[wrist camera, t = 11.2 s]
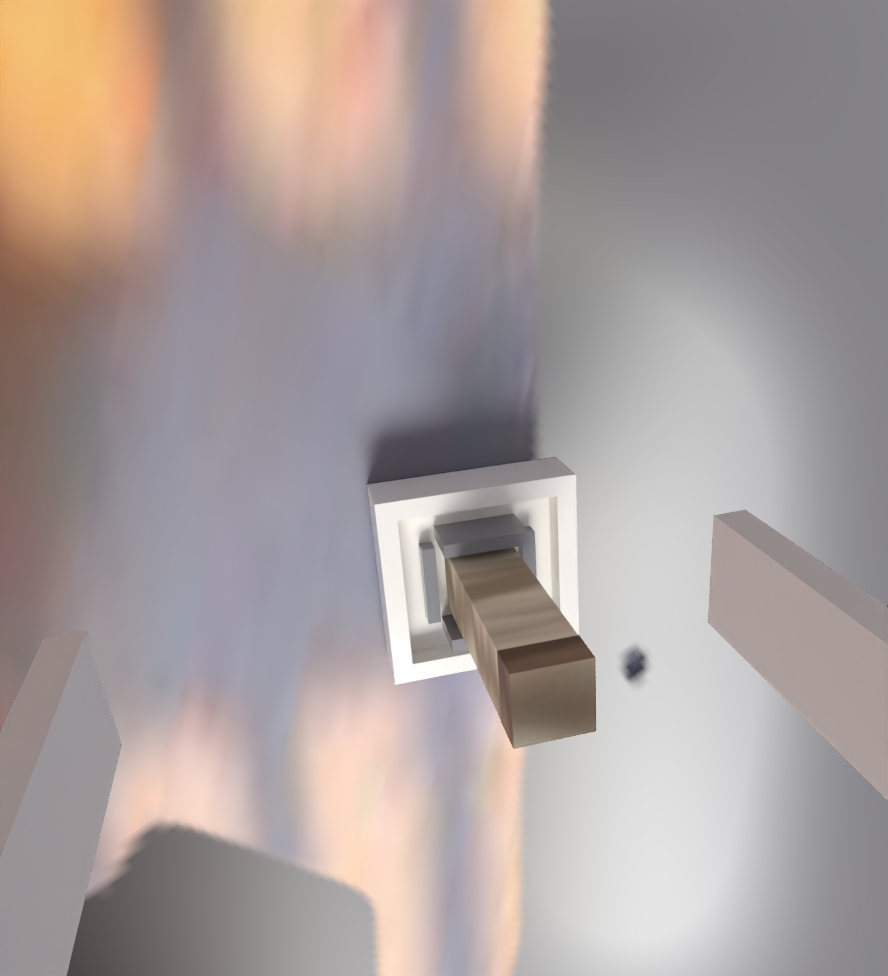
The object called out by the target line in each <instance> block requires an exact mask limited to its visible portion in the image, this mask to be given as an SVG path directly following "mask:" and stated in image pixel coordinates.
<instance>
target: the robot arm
mask: <svg viewBox="0 0 888 976" xmlns="http://www.w3.org/2000/svg"><path fill="white" fill-rule="evenodd" d="M708 623H709V624H710V625H711V626H712V627H713V628H714V629H715V630H716V631H717V632H718V633H719V634H720V635H721V636H722V637H723V638H724V639H725V640H726V641H727V642H728V643H729V644H730V645H731V646H732V647H733V648H734V649H735V650H736V651H737V652H738V653H739V654H740V655H741V656H742V657H744V659H745V660H746V661H747V662H749V664H751V666H752V667H754V668H755V669H756V670H757V671H758V672H759V673H760V674H761V675H762V676H763V677H764V678H765V679H766V680H767V681H768V682H769V683H770V684H771V685H772V686H773V687H774V688H775V689H776V690H777V691H778V692H779V693H780V694H781V695H782V696H783V697H784V698H785V699H786V700H787V701H788V702H789V703H790V704H791V705H792V706H793V707H794V708H795V709H796V710H797V711H798V712H799V713H800V714H801V715H802V716H803V717H804V718H805V719H806V720H807V721H808V722H809V723H810V724H811V725H812V726H813V727H814V728H815V729H816V730H817V731H818V732H819V733H820V734H821V735H822V736H823V737H824V738H825V739H826V740H827V741H828V742H829V743H830V744H831V745H832V746H833V747H834V748H835V749H836V750H837V751H838V752H839V753H841V755H842V756H843V757H844V758H845V759H846V760H847V761H849V763H850V764H852V765H853V766H854V767H855V768H856V769H857V770H858V771H859V772H860V773H861V774H862V775H863V776H864V777H865V778H866V779H867V780H868V781H869V782H870V783H871V784H872V785H873V786H874V787H875V788H876V789H877V790H878V791H879V792H880V793H881V794H882V795H883V796H884V797H885V798H886V799H887V800H888V606H885V605H884V604H883V603H881V602H880V601H878V600H877V599H875V598H874V597H872V596H871V595H869V594H868V593H867V592H865V591H863V590H862V589H861V588H859V587H857V586H856V585H855V584H853V583H852V582H850V581H849V580H847V579H846V578H845V577H843V576H842V575H840V574H839V573H837V572H836V571H834V570H833V569H831V568H829V567H828V566H827V565H825V564H824V563H823V562H821V561H820V560H818V559H817V558H815V557H814V556H812V555H811V554H809V553H808V552H806V551H805V550H804V549H802V548H801V547H799V546H798V545H796V544H795V543H793V542H792V541H790V540H789V539H787V538H786V537H785V536H783V535H782V534H780V533H779V532H777V531H776V530H774V529H773V528H771V527H770V526H768V525H767V524H766V523H764V522H762V521H761V520H760V519H758V518H757V517H755V516H754V515H752V514H751V513H749V512H748V511H746V510H742V511H736V512H730V513H725V514H720V515H714V520H713V539H712V558H711V576H710V594H709V613H708ZM121 745H122V744H121V741H120V738H119V734H118V731H117V728H116V725H115V722H114V718H113V715H112V712H111V709H110V706H109V702H108V699H107V696H106V693H105V689H104V686H103V683H102V680H101V677H100V673H99V670H98V667H97V664H96V661H95V657H94V654H93V651H92V648H91V644H90V641H89V638H88V635H87V632H86V631H81V632H75V633H70V634H64V635H59V636H54V637H48V638H44V639H43V641H42V643H41V645H40V647H39V650H38V652H37V654H36V656H35V658H34V660H33V663H32V665H31V667H30V669H29V671H28V673H27V676H26V678H25V680H24V682H23V684H22V686H21V689H20V691H19V693H18V695H17V697H16V699H15V701H14V704H13V706H12V708H11V710H10V712H9V714H8V717H7V719H6V721H5V723H4V725H3V727H2V730H1V732H0V976H66V975H67V970H68V966H69V962H70V958H71V954H72V949H73V945H74V941H75V936H76V932H77V928H78V925H79V920H80V916H81V912H82V908H83V904H84V899H85V895H86V891H87V887H88V883H89V879H90V874H91V870H92V866H93V862H94V858H95V854H96V849H97V845H98V841H99V837H100V833H101V828H102V824H103V820H104V816H105V812H106V808H107V803H108V799H109V795H110V791H111V787H112V783H113V778H114V774H115V770H116V766H117V762H118V757H119V753H120V749H121Z"/></svg>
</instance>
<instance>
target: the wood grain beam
mask: <svg viewBox="0 0 888 976" xmlns="http://www.w3.org/2000/svg"><path fill="white" fill-rule="evenodd" d="M444 561H445V573H446V584H447V596H448V606H449V608H450V610H451V612H452V614H453V617H454V619H455V621H456V623H457V625H458V628H459V630H460V632H461V634H462V636H463V638H464V641H465V643H466V645H467V647H468V649H469V652H470V654H471V656H472V658H473V660H474V662H475V665H476V667H477V669H478V671H479V673H480V675H481V678H482V680H483V682H484V684H485V686H486V689H487V691H488V693H489V695H490V697H491V699H492V702H493V704H494V706H495V708H496V710H497V712H498V715H499V717H500V719H501V722H502V725H503V727H504V729H505V731H506V733H507V736H508V738H509V740H510V742H511V744H512V746H513V749H514V748H519V747H524V746H528V745H533V744H538V743H542V742H547V741H552V740H556V739H562V738H566V737H571V736H575V735H580V734H585V733H589V732H594V731H596V680H595V679H596V677H595V657H594V655H593V654H592V652H591V651H590V650H589V648H588V647H587V646H586V644H585V643H584V641H583V640H582V639H581V637H580V636H579V635H578V634H577V633H576V631H575V630H574V629H573V627H572V626H571V625H570V623H569V622H568V621H567V619H566V618H565V616H564V615H563V614H562V612H561V611H560V610H559V608H558V607H557V605H556V604H555V603H554V601H553V600H552V599H551V597H550V596H549V595H548V593H547V592H546V590H545V589H544V588H543V586H542V585H541V584H540V582H539V581H538V579H537V578H536V577H535V575H534V574H533V573H532V571H531V570H530V569H529V567H528V566H527V564H526V563H525V562H524V560H523V559H522V558H521V556H520V555H519V553H518V552H517V551H516V549H515V548H514V547H512V548H506V549H500V550H494V551H488V552H482V553H476V554H470V555H464V556H458V557H452V558H446V559H445V558H444Z"/></svg>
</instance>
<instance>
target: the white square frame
mask: <svg viewBox="0 0 888 976" xmlns="http://www.w3.org/2000/svg"><path fill="white" fill-rule="evenodd" d="M367 490H368V498H369V506H370V515H371V523H372V531H373V540H374V548H375V556H376V565H377V573H378V581H379V590H380V598H381V606H382V615H383V623H384V631H385V640H386V648H387V655H388V659H389V663H390V666H391V670H392V674H393V677H394V681H395V685H396V684H401V683H406V682H411V681H417V680H422V679H427V678H432V677H437V676H443V675H448V674H453V673H458V672H464V671H469V670H474V669H477V667H476V665H475V662H474V660H473V658H472V656H471V654H470V652H469V649H468V647H467V645H466V643H465V641H464V638H463V636H462V634H461V632H460V630H459V628H458V625H457V623H456V621H455V619H454V617H453V614H452V612H451V610H450V608H449V606H448V596H447V584H446V573H445V561H444V558H445V559H446V558H452V557H458V556H464V555H470V554H476V553H482V552H488V551H494V550H500V549H506V548H512V547H514V548H515V549H516V551H517V552H518V553H519V555H520V556H521V558H522V559H523V560H524V562H525V563H526V564H527V566H528V567H529V569H530V570H531V571H532V573H533V574H534V575H535V577H536V578H537V579H538V581H539V582H540V584H541V585H542V586H543V588H544V589H545V590H546V592H547V593H548V595H549V596H550V597H551V599H552V600H553V601H554V603H555V604H556V605H557V607H558V608H559V610H560V611H561V612H562V614H563V615H564V616H565V618H566V619H567V621H568V622H569V623H570V625H571V626H572V627H573V629H574V630H575V631H576V633H577V634H578V635H579V615H578V565H577V563H578V562H577V561H578V559H577V504H576V474H575V473H574V472H572V471H571V470H570V469H569V468H568V467H567V466H566V465H564V464H563V463H562V462H561V461H560V460H559V459H557V458H556V457H551V458H545V459H538V460H531V461H524V462H517V463H510V464H503V465H497V466H490V467H483V468H476V469H469V470H462V471H455V472H449V473H442V474H435V475H428V476H421V477H414V478H407V479H400V480H394V481H387V482H380V483H373V484H367Z"/></svg>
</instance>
